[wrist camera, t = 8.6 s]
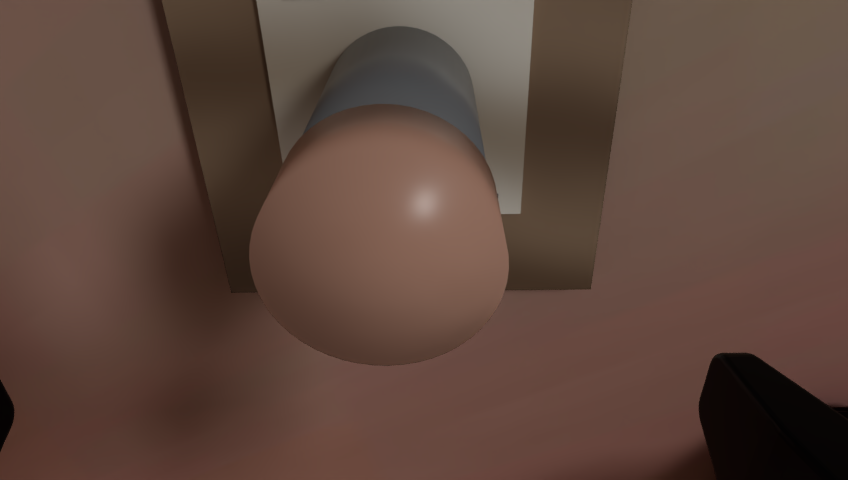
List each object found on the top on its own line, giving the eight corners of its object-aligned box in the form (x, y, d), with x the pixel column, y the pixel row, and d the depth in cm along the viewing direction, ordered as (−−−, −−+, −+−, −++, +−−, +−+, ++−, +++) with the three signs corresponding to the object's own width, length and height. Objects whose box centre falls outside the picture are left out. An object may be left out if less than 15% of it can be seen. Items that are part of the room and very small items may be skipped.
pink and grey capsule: (476, 169, 18) (503, 363, 11) (333, 172, 18) (272, 367, 11) (479, 19, 15) (515, 148, 9) (315, 24, 16) (223, 155, 9)
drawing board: (585, 275, 21) (592, 293, 20) (238, 278, 21) (229, 297, 20) (649, -189, 14) (664, -194, 13) (134, -172, 14) (115, -175, 13)
